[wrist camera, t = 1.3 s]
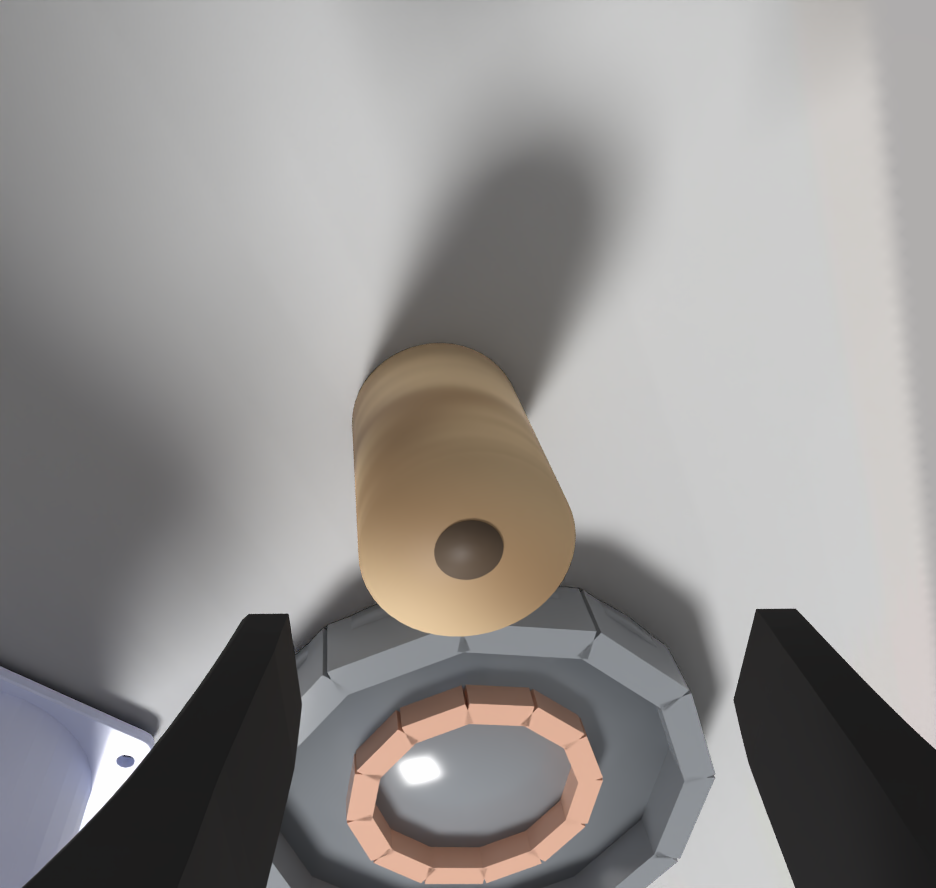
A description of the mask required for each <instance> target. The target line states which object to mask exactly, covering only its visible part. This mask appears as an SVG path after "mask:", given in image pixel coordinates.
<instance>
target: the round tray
mask: <svg viewBox="0 0 936 888" xmlns="http://www.w3.org/2000/svg"><path fill="white" fill-rule="evenodd" d="M295 660H296V667H297V674H298V680H299V687H300V694H301V700H302V711H301V720H300V728H299V737H298V745H297V753H296V760H295V768H294V773H293V777H292V782H291V786H290V790H289V794H288V799H287V803H286V807H285V811H284V816H283V820H282V824H281V828H280V832H279V837H278V841H277V845H276V849H275V853H274V857H273V861H272V866H271V870H270V874H269V878H268V882H267V886H266V888H646V887H647V886H648V885H650V884H651V883H652V882H653V881H655V880H656V879H657V878H658V877H659V876H661V875H662V874H663V873H664V872H666V871H667V870H668V869H669V868H670V867H672V866H673V865H674V864H675V863H676V862H678V861H677V858H681V855H682V853H683V851H684V849H685V846H686V844H687V842H688V839H689V837H690V835H691V832H692V830H693V828H694V825H695V823H696V821H697V818H698V816H699V814H700V811H701V809H702V807H703V805H704V802H705V800H706V798H707V795H708V793H709V791H710V788H711V786H712V784H713V781H714V779H715V777H714V775H715V771H714V768H713V764H712V761H711V758H710V754H709V751H708V747H707V744H706V741H705V737H704V734H703V730H702V727H701V723H700V720H699V717H698V713H697V710H696V706H695V703H694V700H693V696H692V693H691V691H690V689H689V687H688V685H687V683H686V681H685V680H684V678H683V676H682V674H681V672H680V670H679V668H678V666H677V664H676V662H675V660H674V658H673V657H672V655H671V653H670V651H669V649H668V648H667V646H666V645H664V644H663V643H661V642H660V641H658V640H657V639H655V638H654V637H653V636H651V635H650V634H649V633H648V632H647V631H646V630H645V629H643V628H642V627H641V626H639V625H638V624H637V623H636V622H634V621H633V620H632V619H631V618H629V617H628V616H626V615H625V614H623V613H621V612H619V611H618V610H616V609H614V608H612V607H611V606H609V605H607V604H605V603H603V602H601V601H599V600H597V599H596V598H594V597H593V596H591V595H590V594H588V593H587V592H586V591H584V590H582V591H581V592H580V591H579V588H568V587H558V588H557V589H556V591H555V592H554V593H553V594H552V595H551V596H550V597H549V598H548V600H547V601H546V602H544V603H543V604H542V605H541V606H540V607H539V608H538V609H536V610H535V611H534V612H532V613H531V614H529V615H528V616H526V617H525V618H523V619H521V620H519V621H518V622H516V623H514V624H511V625H509V626H507V627H504V628H502V629H499V630H496V631H492V632H489V633H484V634H479V635H472V636H442V635H434V634H430V633H426V632H422V631H419V630H416V629H414V628H411V627H409V626H407V625H405V624H403V623H401V622H399V621H398V620H396V619H395V618H393V617H392V616H390V615H389V614H388V613H387V612H386V611H385V610H383V609H382V608H381V607H380V606H379V604H376V605H374V606H372V607H370V608H367V609H365V610H363V611H360V612H358V613H356V614H354V615H352V616H350V617H348V618H345V619H342V620H339V621H337V622H334V623H331V624H329V625H328V627H327V630H326V629H324V628H323V629H322V630H321V631H320V632H319V633H318V634H317V635H316V636H315V637H314V638H313V639H312V640H311V642H310V643H309V644H308V645H306V646H305V647H304V648H303V649H302V650H300V651H299V652H298V653H297V654H296V655H295Z"/></svg>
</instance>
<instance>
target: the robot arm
mask: <svg viewBox="0 0 936 888" xmlns="http://www.w3.org/2000/svg"><path fill="white" fill-rule="evenodd" d="M734 704H735V708H736V713H737V717H738V722H739V726H740V730H741V735H742V739H743V743H744V747H745V750H746V754H747V758H748V762H749V765H750V768H751V771H752V774H753V776H754V779H755V782H756V785H757V787H758V790H759V793H760V795H761V798H762V801H763V804H764V806H765V809H766V812H767V814H768V817H769V820H770V822H771V825H772V828H773V830H774V833H775V835H776V838H777V841H778V843H779V846H780V849H781V851H782V854H783V857H784V859H785V862H786V864H787V867H788V870H789V872H790V875H791V878H792V880H793V883H794V886H795V888H936V749H934V748H933V747H932V746H931V745H930V744H929V743H928V742H927V741H926V740H924V739H923V738H922V737H921V736H920V735H919V734H918V733H917V732H916V731H915V730H914V729H913V728H912V727H911V726H910V725H909V724H907V723H906V722H905V721H904V720H903V719H902V718H901V717H900V716H899V715H898V714H897V713H896V712H895V711H894V710H893V709H892V708H891V707H890V706H889V705H888V704H887V703H886V702H885V701H884V700H883V699H882V698H881V697H880V696H879V695H878V694H877V693H876V692H875V691H874V690H873V689H872V688H871V687H870V686H869V685H868V684H867V683H866V682H865V681H864V680H863V679H862V678H861V677H860V676H859V675H858V674H857V673H856V671H855V670H854V669H853V668H852V667H851V666H850V665H849V664H848V663H847V662H846V661H845V660H844V659H843V658H842V657H841V656H840V655H839V654H838V653H837V652H836V651H835V650H834V648H833V647H832V646H831V645H830V644H829V643H828V642H827V641H826V640H825V639H824V638H823V637H822V636H821V635H820V634H819V633H818V632H817V631H816V629H815V628H814V627H813V626H812V625H811V624H810V623H809V622H808V621H807V620H806V619H805V618H804V617H803V616H802V615H801V614H800V613H799V612H798V611H797V610H796V609H756V612H755V616H754V620H753V624H752V628H751V632H750V636H749V640H748V644H747V648H746V652H745V656H744V660H743V664H742V668H741V672H740V676H739V680H738V684H737V688H736V692H735V696H734ZM301 711H302V700H301V694H300V687H299V680H298V674H297V667H296V660H295V654H294V647H293V640H292V634H291V627H290V620H289V614H248V615H247V616H246V617H245V618H244V619H243V620H242V621H241V623H240V624H239V626H238V628H237V629H236V631H235V633H234V634H233V636H232V637H231V639H230V641H229V642H228V644H227V645H226V647H225V648H224V650H223V651H222V653H221V655H220V656H219V658H218V659H217V661H216V662H215V664H214V665H213V667H212V668H211V669H210V671H209V672H208V674H207V675H206V677H205V678H204V680H203V681H202V683H201V684H200V686H199V687H198V688H197V690H196V691H195V692H194V694H193V695H192V697H191V698H190V699H189V701H188V702H187V703H186V705H185V706H184V707H183V709H182V710H181V712H180V713H179V714H178V716H177V717H176V718H175V720H174V721H173V723H172V724H171V725H170V726H169V728H168V729H167V730H166V732H165V733H164V734H163V736H162V737H161V738H160V739H159V740H158V742H157V743H156V744H155V745H154V738H153V737H152V735H151V734H149V733H148V732H146V731H144V730H142V729H139V728H137V727H135V726H133V725H130V724H128V723H126V722H124V721H122V720H119V719H117V718H115V717H113V716H110V715H108V714H106V713H104V712H101V711H99V710H97V709H95V708H92V707H90V706H88V705H86V704H84V703H81V702H79V701H77V700H75V699H72V698H70V697H68V696H66V695H63V694H61V693H59V692H57V691H54V690H52V689H50V688H48V687H46V686H43V685H41V684H39V683H37V682H34V681H32V680H30V679H28V678H25V677H23V676H21V675H19V674H17V673H14V672H12V671H10V670H8V669H5V668H3V667H1V666H0V888H266V886H267V882H268V878H269V874H270V870H271V866H272V861H273V857H274V853H275V849H276V845H277V841H278V837H279V832H280V828H281V824H282V820H283V816H284V811H285V807H286V803H287V799H288V794H289V790H290V786H291V782H292V777H293V773H294V768H295V760H296V753H297V745H298V737H299V728H300V720H301ZM122 755H129V756H131V757H123V756H122Z"/></svg>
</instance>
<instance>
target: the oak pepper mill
mask: <svg viewBox="0 0 936 888" xmlns="http://www.w3.org/2000/svg"><path fill="white" fill-rule="evenodd" d="M352 431H353V451H354V472H355V492H356V513H357V533H358V554H359V566H360V570H361V574H362V578H363V580H364V582H365V585H366V587H367V589H368V591H369V592H370V594H371V595H372V597H373V599H374V600H375V601H376V602H377V603H378V604H379V606H380V607H381V608H382V609H383V610H385V611H386V612H387V613H388V614H389V615H390V616H392V617H393V618H395V619H396V620H398V621H399V622H401V623H403V624H405V625H407V626H409V627H411V628H414V629H416V630H419V631H422V632H426V633H430V634H434V635H442V636H472V635H479V634H484V633H489V632H492V631H496V630H499V629H502V628H504V627H507V626H509V625H511V624H514V623H516V622H518V621H519V620H521V619H523V618H525V617H526V616H528V615H529V614H531V613H532V612H534V611H535V610H536V609H538V608H539V607H540V606H541V605H542V604H543V603H544V602H546V601H547V600H548V598H549V597H550V596H551V595H552V594H553V593H554V592H555V591H556V589H557V588H558V586H559V585H560V583H561V582H562V581H563V579H564V577H565V575H566V573H567V571H568V569H569V566H570V564H571V561H572V558H573V553H574V548H575V537H576V534H575V523H574V519H573V515H572V511H571V509H570V507H569V504H568V502H567V500H566V498H565V496H564V494H563V491H562V489H561V487H560V485H559V483H558V481H557V479H556V477H555V475H554V473H553V471H552V468H551V466H550V464H549V462H548V460H547V458H546V456H545V454H544V452H543V450H542V447H541V445H540V443H539V441H538V439H537V437H536V435H535V433H534V431H533V429H532V427H531V424H530V422H529V420H528V418H527V416H526V414H525V412H524V410H523V408H522V406H521V403H520V401H519V399H518V397H517V395H516V393H515V391H514V389H513V387H512V385H511V383H510V381H509V380H508V378H507V376H506V375H505V374H504V372H503V371H502V370H501V369H500V368H499V367H498V366H497V365H496V364H495V363H494V362H493V361H492V360H490V359H489V358H487V357H486V356H484V355H483V354H481V353H479V352H477V351H475V350H473V349H470V348H467V347H464V346H460V345H455V344H448V343H430V344H424V345H418V346H415V347H411V348H408V349H406V350H403V351H401V352H399V353H397V354H395V355H393V356H392V357H390V358H388V359H387V360H385V361H384V362H383V363H382V364H380V365H379V366H378V367H377V368H376V369H375V370H374V371H373V372H372V373H371V374H370V376H369V377H368V378H367V380H366V381H365V382H364V384H363V386H362V388H361V389H360V391H359V393H358V396H357V399H356V401H355V405H354V409H353V417H352Z"/></svg>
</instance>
